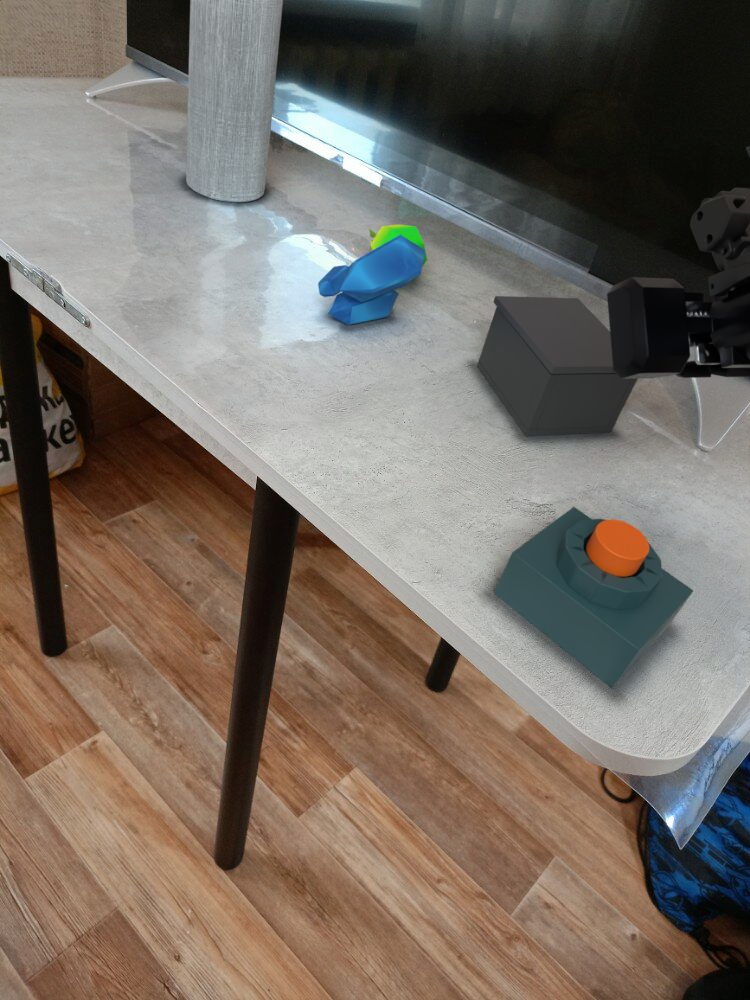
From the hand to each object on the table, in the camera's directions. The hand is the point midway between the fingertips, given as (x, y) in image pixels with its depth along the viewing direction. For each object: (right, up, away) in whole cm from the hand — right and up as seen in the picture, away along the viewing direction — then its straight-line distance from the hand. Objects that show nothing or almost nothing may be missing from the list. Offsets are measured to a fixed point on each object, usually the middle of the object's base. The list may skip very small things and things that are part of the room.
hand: (648, 355), depth 60 cm
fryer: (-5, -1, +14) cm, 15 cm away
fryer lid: (-4, +4, +10) cm, 12 cm away
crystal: (-23, +8, +20) cm, 31 cm away
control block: (-7, -19, -6) cm, 21 cm away
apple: (-20, +15, +29) cm, 38 cm away
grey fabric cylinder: (-41, +29, +38) cm, 63 cm away
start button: (-6, -15, -10) cm, 19 cm away
